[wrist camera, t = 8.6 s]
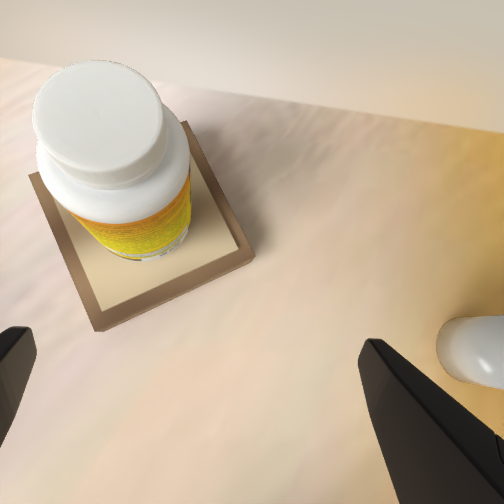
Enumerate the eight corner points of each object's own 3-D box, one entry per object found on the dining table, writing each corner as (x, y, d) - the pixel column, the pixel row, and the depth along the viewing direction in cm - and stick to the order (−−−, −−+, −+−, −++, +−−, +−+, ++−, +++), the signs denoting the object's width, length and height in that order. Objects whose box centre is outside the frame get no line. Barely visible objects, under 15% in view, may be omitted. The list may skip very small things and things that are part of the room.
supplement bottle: (210, 230, 21) (223, 141, 11) (127, 282, 20) (62, 231, 10) (158, 158, 22) (130, 13, 12) (74, 203, 20) (-37, 81, 11)
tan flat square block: (250, 262, 24) (256, 255, 21) (103, 331, 21) (93, 331, 19) (187, 136, 25) (186, 117, 23) (42, 188, 23) (25, 172, 20)
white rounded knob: (503, 351, 25) (559, 354, 21) (468, 396, 24) (520, 408, 20) (460, 304, 25) (508, 299, 22) (423, 347, 24) (466, 350, 20)
